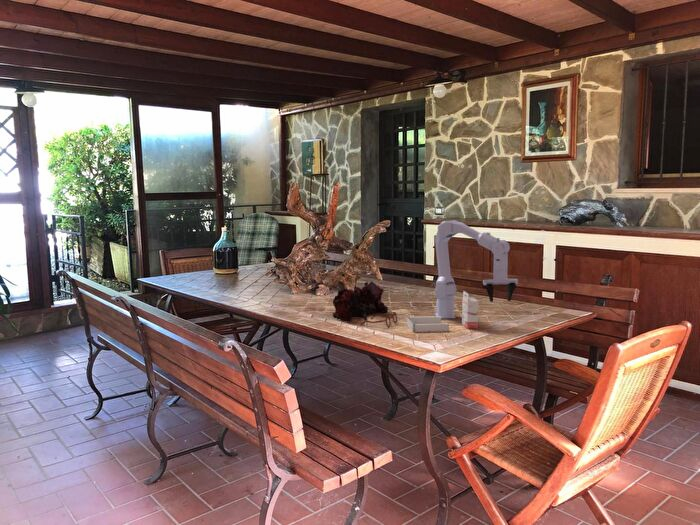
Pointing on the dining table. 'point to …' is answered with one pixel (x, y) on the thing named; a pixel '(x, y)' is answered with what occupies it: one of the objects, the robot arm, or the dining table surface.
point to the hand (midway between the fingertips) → (500, 301)
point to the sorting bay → (426, 324)
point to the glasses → (383, 320)
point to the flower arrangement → (358, 302)
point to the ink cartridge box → (469, 311)
